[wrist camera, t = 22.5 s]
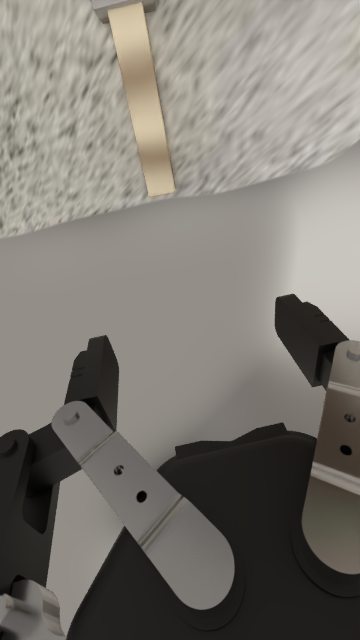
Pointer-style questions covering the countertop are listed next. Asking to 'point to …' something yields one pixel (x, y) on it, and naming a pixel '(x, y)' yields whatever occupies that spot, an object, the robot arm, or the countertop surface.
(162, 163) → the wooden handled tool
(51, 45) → the countertop surface
